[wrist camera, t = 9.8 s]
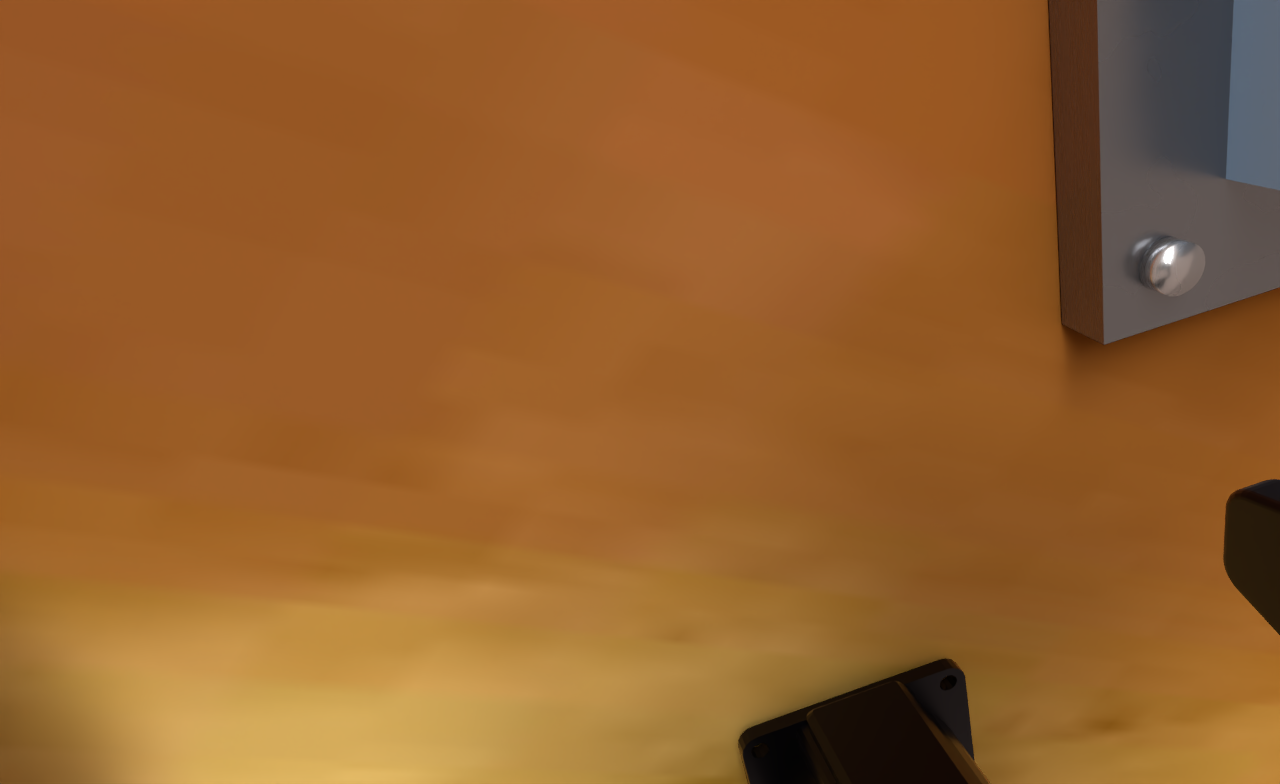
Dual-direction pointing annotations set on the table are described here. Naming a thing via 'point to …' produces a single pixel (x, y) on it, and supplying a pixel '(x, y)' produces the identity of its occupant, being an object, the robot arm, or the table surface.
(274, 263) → the table surface
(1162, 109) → the keeper plate
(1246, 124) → the blue square ring
